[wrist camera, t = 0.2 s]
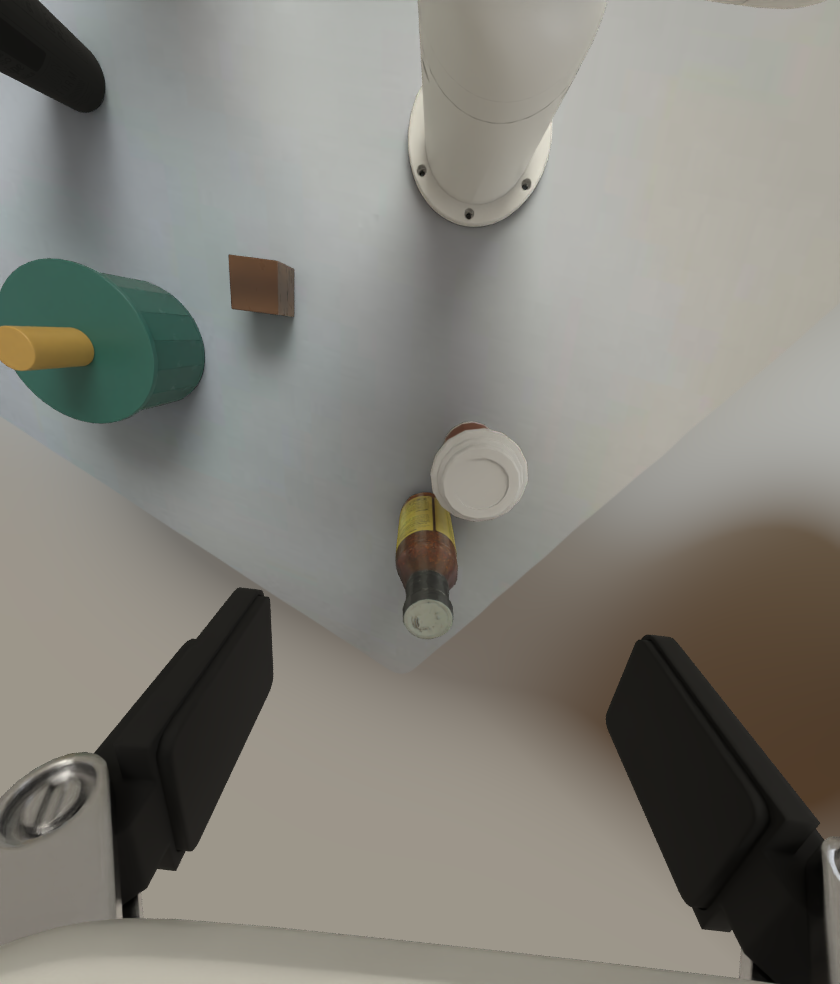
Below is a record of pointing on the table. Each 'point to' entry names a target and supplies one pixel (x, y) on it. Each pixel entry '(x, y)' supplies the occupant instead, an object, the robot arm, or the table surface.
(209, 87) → the table surface
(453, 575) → the sauce bottle
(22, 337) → the tin lid
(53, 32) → the drinking cup
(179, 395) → the tin
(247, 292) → the block
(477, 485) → the coffee cup
